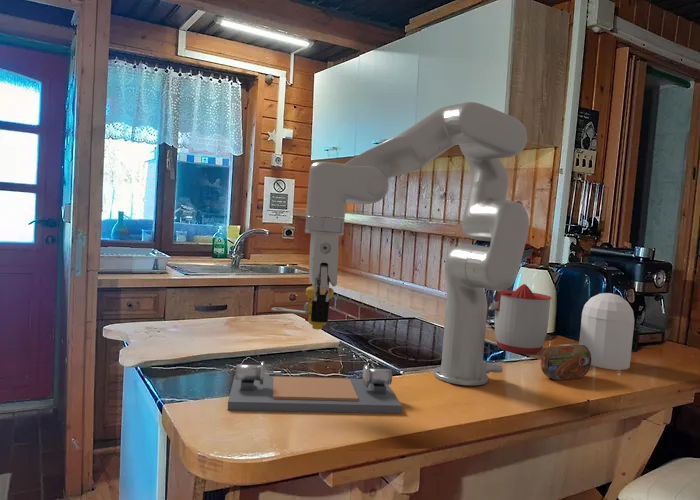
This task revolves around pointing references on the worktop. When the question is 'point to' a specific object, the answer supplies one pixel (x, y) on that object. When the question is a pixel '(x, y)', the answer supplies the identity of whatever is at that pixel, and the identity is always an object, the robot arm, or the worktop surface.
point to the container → (608, 331)
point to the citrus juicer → (521, 320)
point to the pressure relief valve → (309, 307)
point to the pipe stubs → (369, 377)
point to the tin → (566, 361)
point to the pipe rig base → (312, 396)
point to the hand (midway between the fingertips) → (317, 317)
